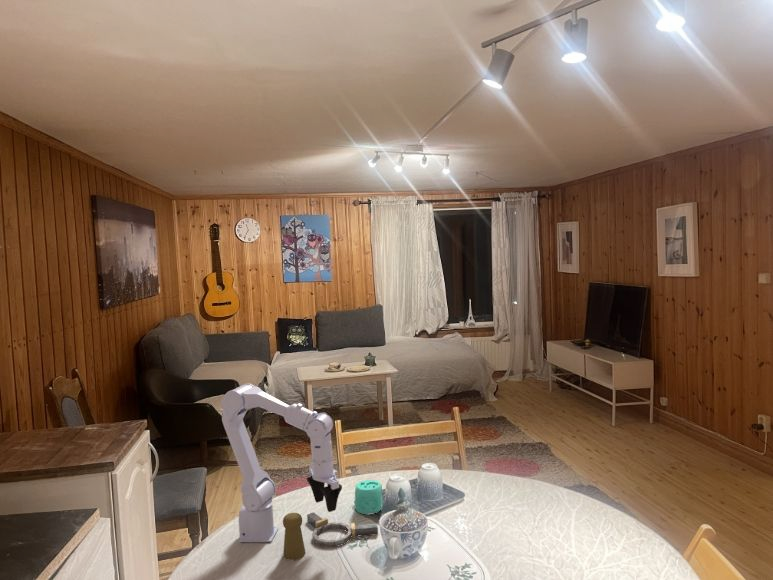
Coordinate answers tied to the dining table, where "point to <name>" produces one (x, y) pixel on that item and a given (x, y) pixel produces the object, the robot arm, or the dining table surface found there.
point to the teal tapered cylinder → (368, 496)
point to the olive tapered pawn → (293, 537)
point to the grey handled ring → (324, 525)
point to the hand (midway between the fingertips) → (325, 505)
